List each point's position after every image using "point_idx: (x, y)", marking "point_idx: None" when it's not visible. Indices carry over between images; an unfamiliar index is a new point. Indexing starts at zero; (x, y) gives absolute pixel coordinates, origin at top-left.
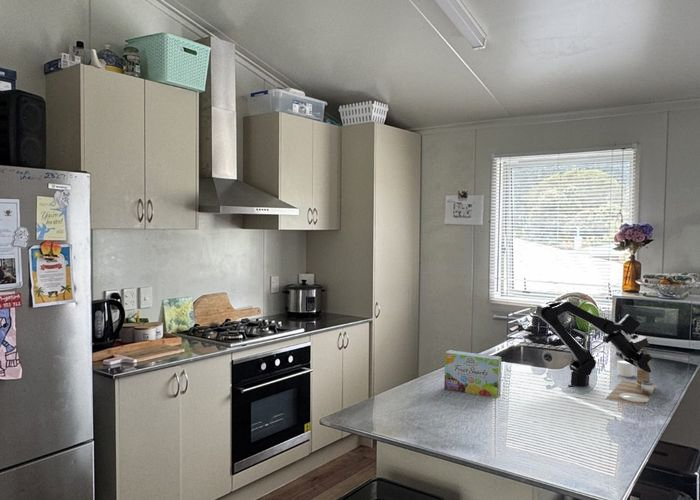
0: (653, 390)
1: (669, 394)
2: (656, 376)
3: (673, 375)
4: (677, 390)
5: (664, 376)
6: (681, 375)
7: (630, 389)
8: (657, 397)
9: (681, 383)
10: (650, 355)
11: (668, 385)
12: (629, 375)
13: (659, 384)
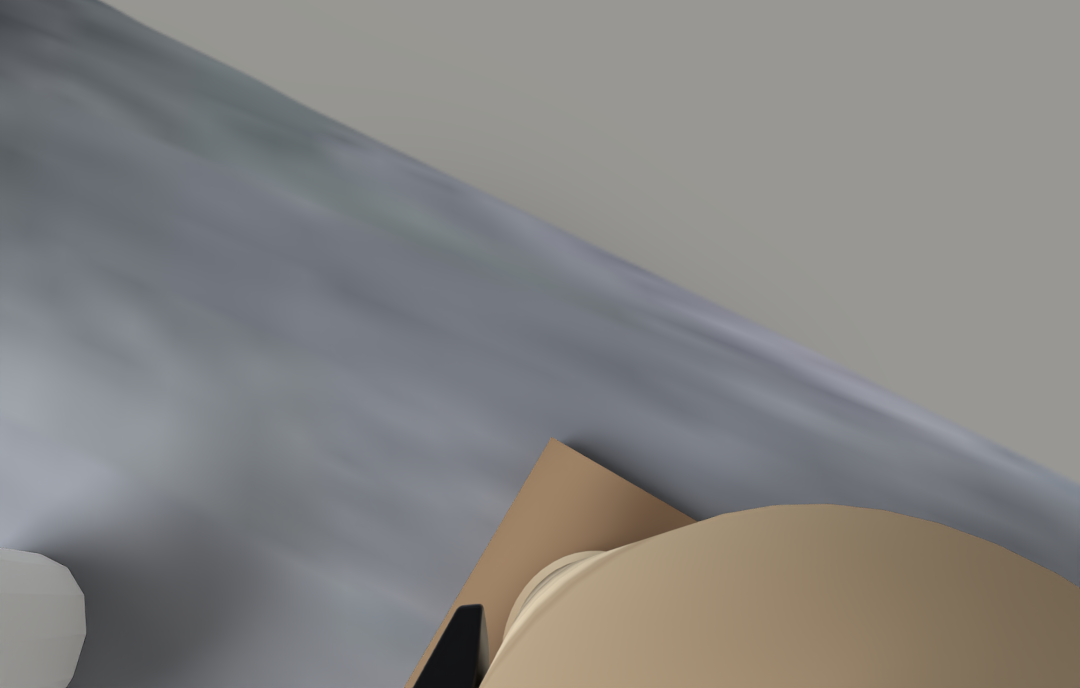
0: None
1: (768, 402)
2: (39, 227)
3: (47, 80)
4: (577, 256)
5: (59, 159)
6: (64, 30)
7: None
8: None
9: (319, 127)
10: (1057, 584)
11: (393, 260)
12: (38, 634)
13: (356, 331)
